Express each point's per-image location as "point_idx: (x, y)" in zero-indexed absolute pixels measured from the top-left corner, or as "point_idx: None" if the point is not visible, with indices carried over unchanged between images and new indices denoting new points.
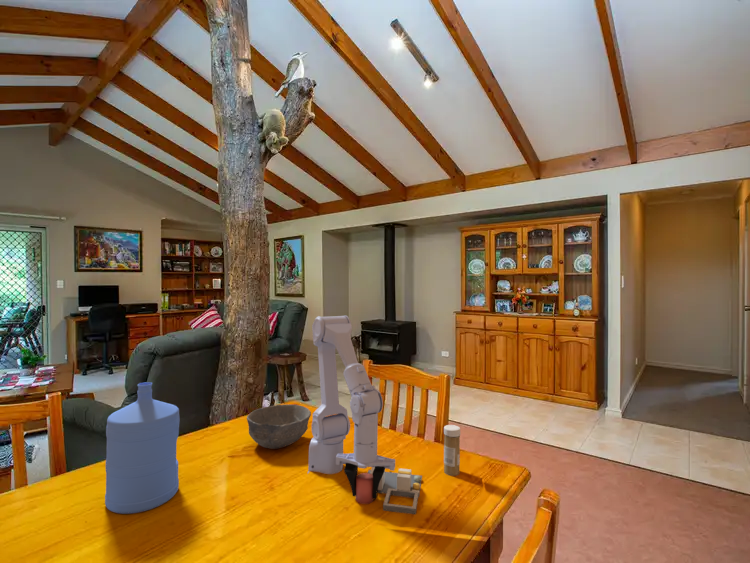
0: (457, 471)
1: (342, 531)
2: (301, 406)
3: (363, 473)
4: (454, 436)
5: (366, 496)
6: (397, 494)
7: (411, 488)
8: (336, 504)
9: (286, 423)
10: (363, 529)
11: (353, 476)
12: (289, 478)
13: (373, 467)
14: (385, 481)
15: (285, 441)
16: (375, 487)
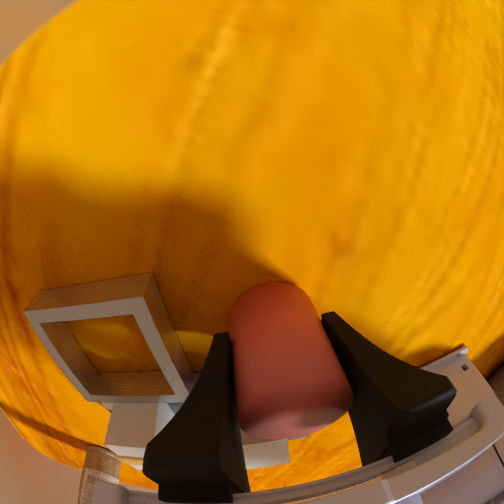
0: (85, 458)
1: (293, 60)
2: None
3: (317, 430)
4: None
5: (257, 322)
6: (150, 384)
7: None
8: (386, 254)
9: None
10: (191, 110)
11: (380, 388)
12: (497, 308)
13: (283, 458)
14: None
15: (502, 387)
16: (209, 378)
